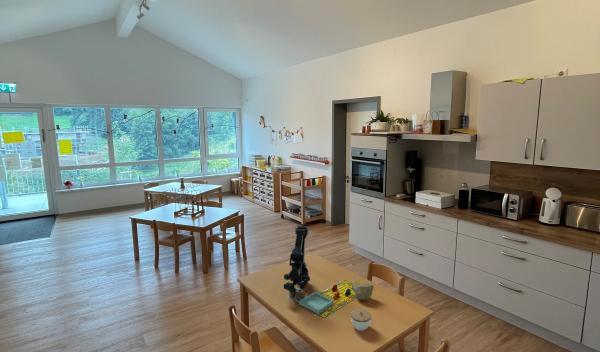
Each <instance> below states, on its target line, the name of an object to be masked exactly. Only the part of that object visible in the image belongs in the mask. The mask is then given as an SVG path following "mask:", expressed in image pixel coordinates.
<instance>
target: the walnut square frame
mask: <svg viewBox="0 0 600 352" xmlns="http://www.w3.org/2000/svg"><path fill="white" fill-rule="evenodd" d="M296 288H299V293H296V292H295V296H294V297H292V295H291V292H290V291H288V292H289V294H288V295H289V297H291V298H293V299H295V300H297V301H298V300H302V299H303V298H305V295H306V290H305V289H301V288H300V286H296V287H295V289H296Z"/></svg>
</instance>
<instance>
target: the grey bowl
mask: <svg viewBox="0 0 600 352" xmlns="http://www.w3.org/2000/svg"><path fill="white" fill-rule="evenodd" d="M350 290H351V291H353V292H354V295H355V297H356V299H357V300H360V301H367V300H369V299H371V296H372V295H373V290H374V284H371V283H360V282H357V281H356V282H353V283H352V285H351V288H350Z"/></svg>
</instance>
